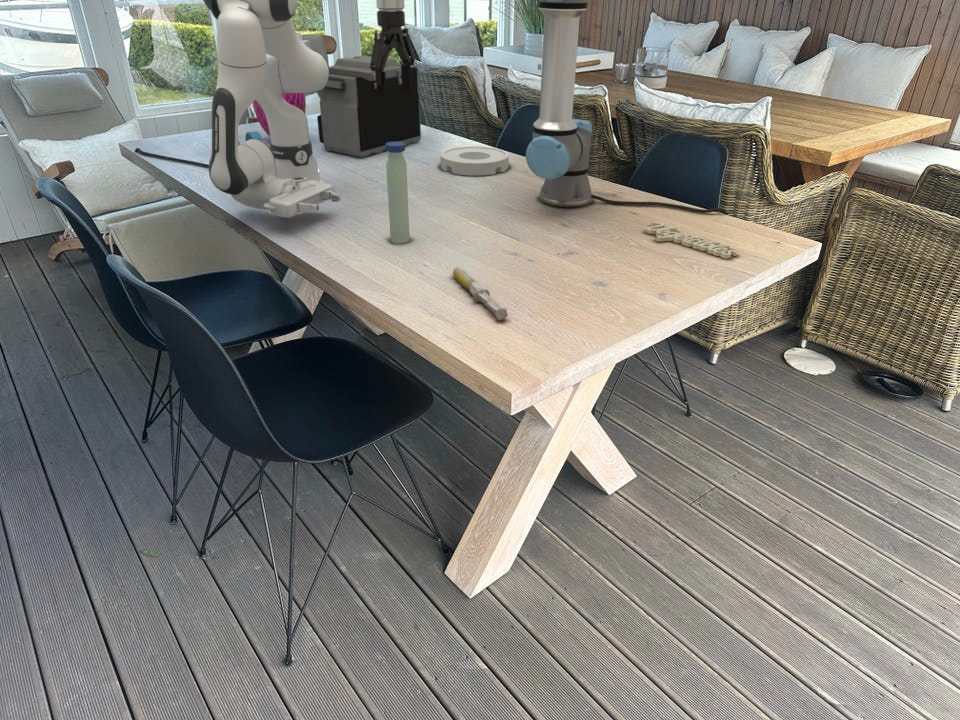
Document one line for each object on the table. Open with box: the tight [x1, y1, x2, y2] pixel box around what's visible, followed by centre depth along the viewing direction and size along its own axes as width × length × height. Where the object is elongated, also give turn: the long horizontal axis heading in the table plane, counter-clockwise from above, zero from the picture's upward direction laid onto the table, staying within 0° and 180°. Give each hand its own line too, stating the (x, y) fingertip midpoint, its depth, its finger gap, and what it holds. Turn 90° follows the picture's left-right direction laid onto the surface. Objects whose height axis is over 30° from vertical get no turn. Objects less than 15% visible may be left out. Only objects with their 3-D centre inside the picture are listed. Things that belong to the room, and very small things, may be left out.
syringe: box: [452, 266, 509, 321], centre depth 145 cm, size 25×4×3 cm, turn 21°
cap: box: [385, 142, 406, 153], centre depth 162 cm, size 5×5×2 cm
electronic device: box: [315, 55, 422, 159], centre depth 250 cm, size 37×22×30 cm, turn 144°
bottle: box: [385, 151, 411, 245], centre depth 167 cm, size 5×5×24 cm
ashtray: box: [440, 145, 510, 177], centre depth 233 cm, size 23×23×4 cm
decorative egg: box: [252, 93, 307, 137], centre depth 257 cm, size 19×19×30 cm
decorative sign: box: [645, 221, 738, 259], centre depth 174 cm, size 26×1×10 cm
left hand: (328, 203), depth 177 cm, fingers open, 8 cm apart
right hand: (394, 93), depth 197 cm, fingers open, 13 cm apart
